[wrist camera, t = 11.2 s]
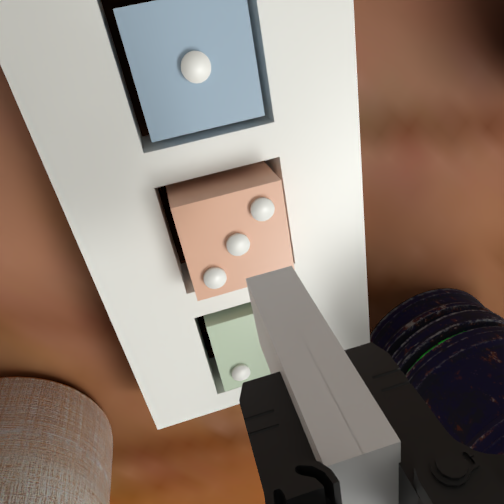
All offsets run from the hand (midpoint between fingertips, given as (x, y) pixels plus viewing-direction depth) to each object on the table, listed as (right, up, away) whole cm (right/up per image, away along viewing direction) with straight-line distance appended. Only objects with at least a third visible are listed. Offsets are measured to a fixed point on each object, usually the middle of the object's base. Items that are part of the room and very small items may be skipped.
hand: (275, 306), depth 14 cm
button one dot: (-4, +10, +5) cm, 12 cm away
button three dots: (-2, +4, +7) cm, 8 cm away
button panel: (-2, +4, +8) cm, 10 cm away
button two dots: (-1, -2, +12) cm, 12 cm away
